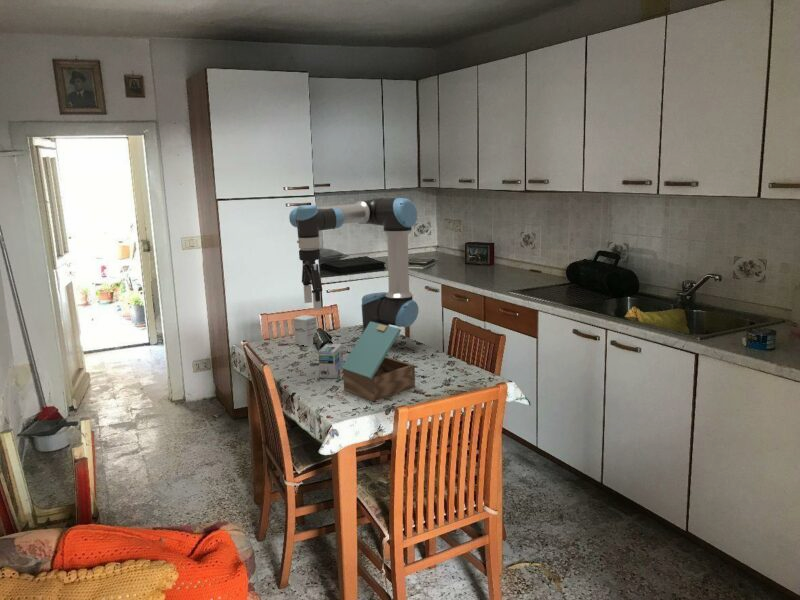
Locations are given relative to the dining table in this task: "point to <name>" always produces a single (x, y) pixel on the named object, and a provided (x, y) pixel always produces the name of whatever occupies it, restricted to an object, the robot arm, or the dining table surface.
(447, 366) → the dining table surface
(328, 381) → the dining table surface
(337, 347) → the light bulb box
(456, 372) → the dining table surface
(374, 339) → the chest lid
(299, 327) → the supplement box
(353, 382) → the walnut chest
